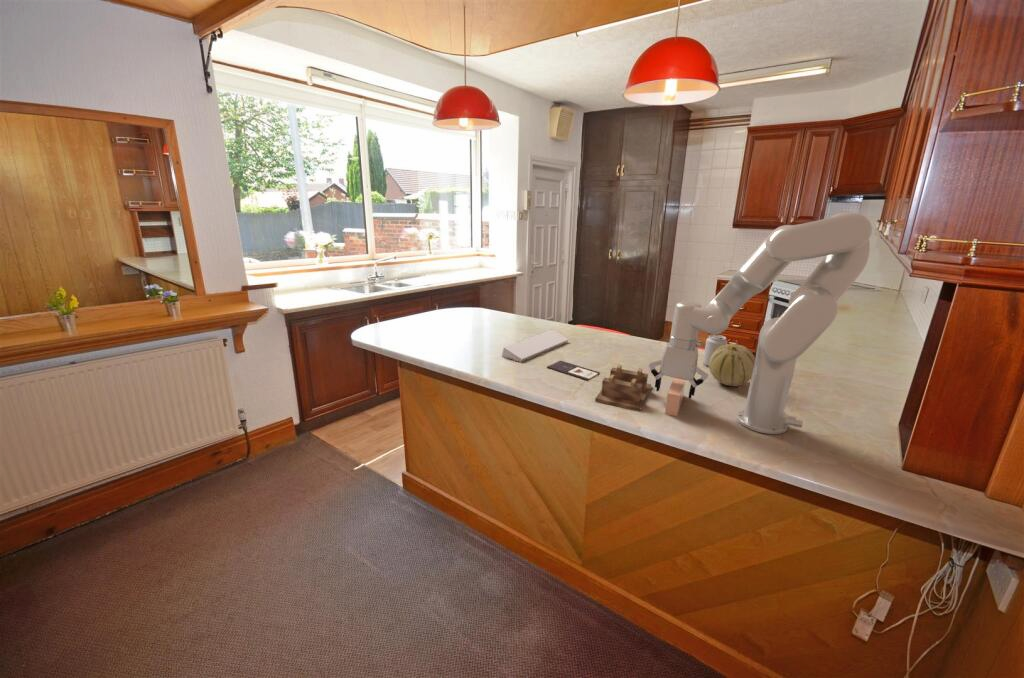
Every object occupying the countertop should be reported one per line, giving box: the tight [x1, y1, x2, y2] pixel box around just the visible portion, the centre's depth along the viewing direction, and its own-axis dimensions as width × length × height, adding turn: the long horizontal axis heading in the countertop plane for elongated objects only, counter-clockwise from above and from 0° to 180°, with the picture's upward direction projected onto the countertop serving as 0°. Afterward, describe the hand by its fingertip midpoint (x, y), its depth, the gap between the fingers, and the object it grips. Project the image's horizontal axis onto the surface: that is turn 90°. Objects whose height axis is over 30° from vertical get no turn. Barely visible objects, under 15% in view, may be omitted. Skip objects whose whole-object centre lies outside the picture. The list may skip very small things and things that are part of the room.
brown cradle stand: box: [594, 364, 652, 412], centre depth 138 cm, size 14×20×8 cm
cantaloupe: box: [708, 343, 756, 387], centre depth 145 cm, size 15×15×15 cm
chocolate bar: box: [546, 360, 600, 381], centre depth 158 cm, size 9×1×18 cm
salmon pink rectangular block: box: [664, 377, 687, 417], centre depth 131 cm, size 4×16×7 cm, turn 152°
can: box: [702, 334, 728, 368], centre depth 162 cm, size 8×8×12 cm
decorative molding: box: [501, 329, 569, 363], centre depth 181 cm, size 34×5×10 cm
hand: (673, 393), depth 131 cm, fingers open, 9 cm apart
